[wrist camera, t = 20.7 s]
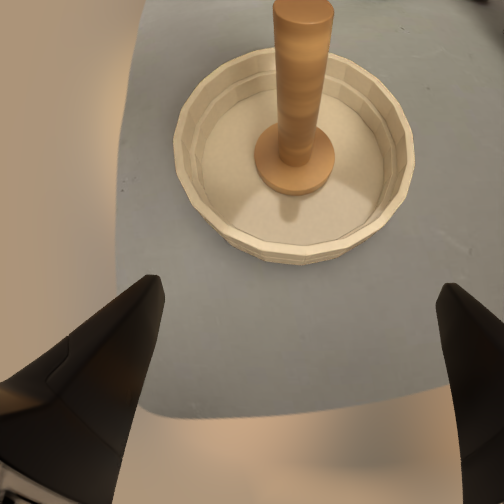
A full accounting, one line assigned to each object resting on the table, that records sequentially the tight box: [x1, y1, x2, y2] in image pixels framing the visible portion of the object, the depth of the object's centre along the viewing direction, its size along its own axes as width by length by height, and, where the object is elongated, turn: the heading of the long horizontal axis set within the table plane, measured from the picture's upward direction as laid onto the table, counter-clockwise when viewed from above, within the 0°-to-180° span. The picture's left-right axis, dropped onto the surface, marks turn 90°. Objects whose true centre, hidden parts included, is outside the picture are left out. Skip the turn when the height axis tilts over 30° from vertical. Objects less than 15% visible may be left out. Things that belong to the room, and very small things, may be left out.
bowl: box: [173, 48, 415, 265], centre depth 22 cm, size 16×16×5 cm
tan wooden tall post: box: [254, 0, 335, 196], centre depth 17 cm, size 6×6×15 cm
